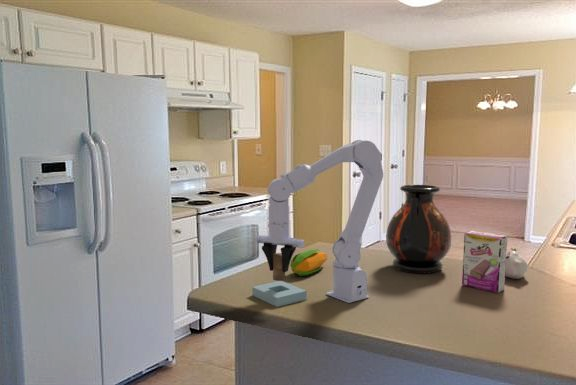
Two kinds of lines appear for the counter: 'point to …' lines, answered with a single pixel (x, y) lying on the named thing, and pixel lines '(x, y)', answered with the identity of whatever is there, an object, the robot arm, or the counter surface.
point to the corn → (307, 262)
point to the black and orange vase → (418, 232)
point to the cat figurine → (515, 265)
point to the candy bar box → (484, 261)
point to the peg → (278, 267)
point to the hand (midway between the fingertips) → (279, 270)
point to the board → (279, 293)
